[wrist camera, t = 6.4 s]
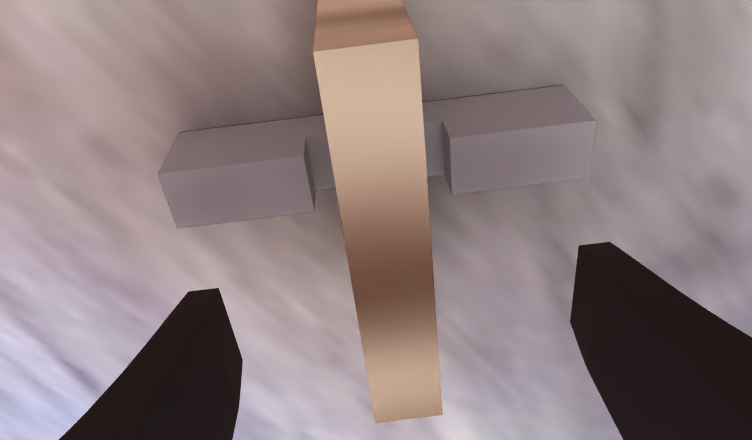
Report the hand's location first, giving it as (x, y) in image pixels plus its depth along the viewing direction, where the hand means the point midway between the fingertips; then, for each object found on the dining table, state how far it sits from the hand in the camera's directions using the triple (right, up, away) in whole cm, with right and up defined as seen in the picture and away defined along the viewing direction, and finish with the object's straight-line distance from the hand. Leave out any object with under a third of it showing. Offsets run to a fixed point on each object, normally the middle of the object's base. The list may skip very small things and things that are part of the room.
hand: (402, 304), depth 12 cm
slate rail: (-1, +4, +7) cm, 8 cm away
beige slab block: (-1, +4, +7) cm, 8 cm away
